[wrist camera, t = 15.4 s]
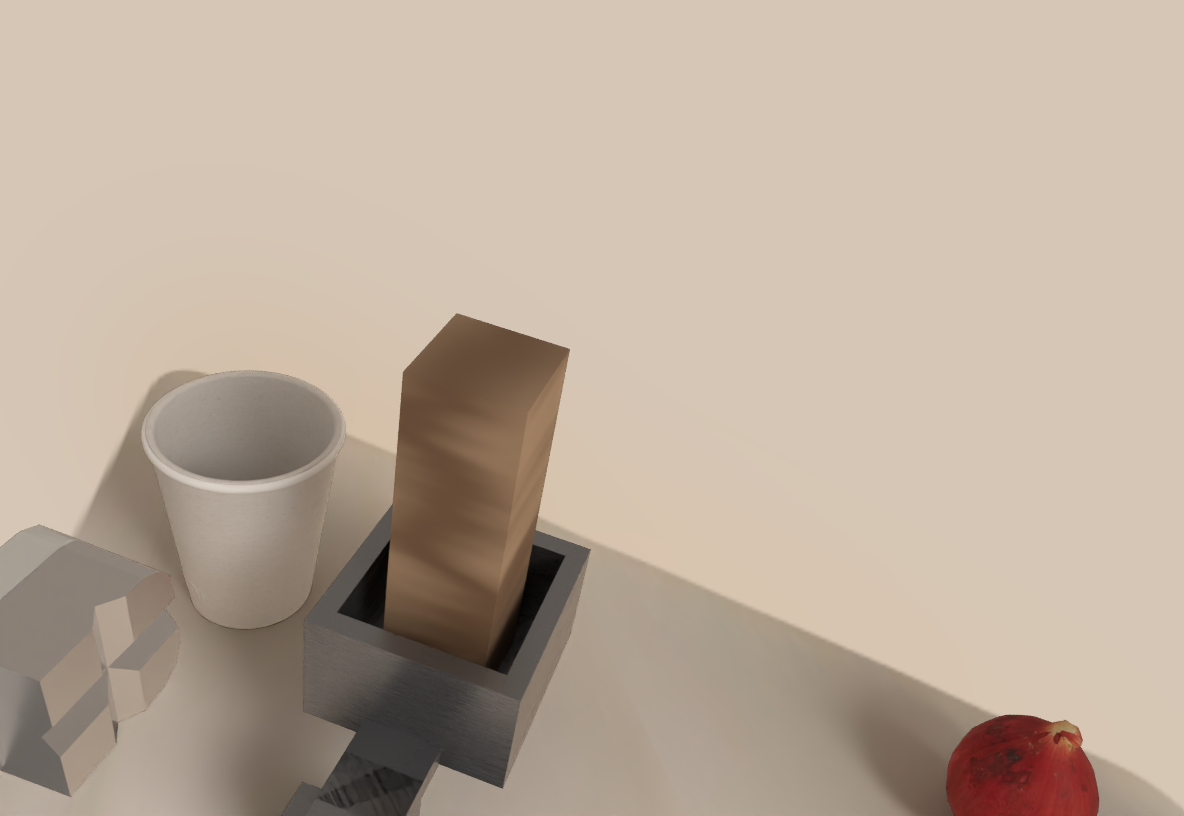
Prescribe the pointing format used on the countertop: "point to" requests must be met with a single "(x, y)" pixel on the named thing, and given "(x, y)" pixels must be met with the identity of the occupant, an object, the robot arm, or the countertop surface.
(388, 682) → the box
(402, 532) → the rail post
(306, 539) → the dixie cup
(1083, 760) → the onion
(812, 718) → the countertop surface
